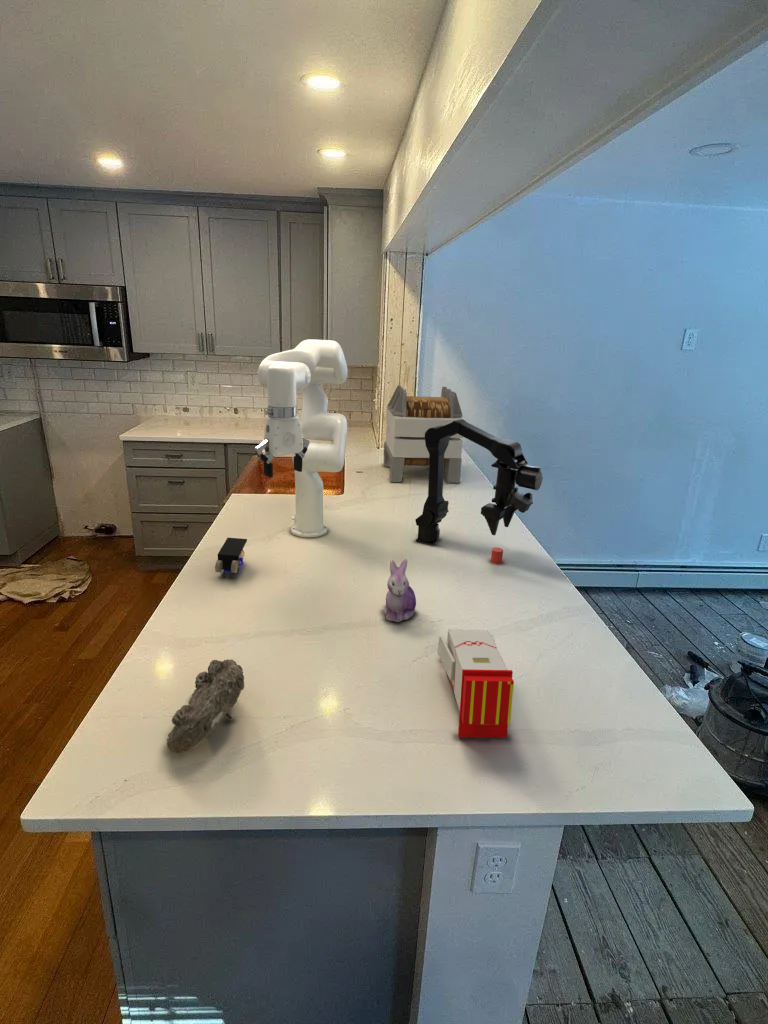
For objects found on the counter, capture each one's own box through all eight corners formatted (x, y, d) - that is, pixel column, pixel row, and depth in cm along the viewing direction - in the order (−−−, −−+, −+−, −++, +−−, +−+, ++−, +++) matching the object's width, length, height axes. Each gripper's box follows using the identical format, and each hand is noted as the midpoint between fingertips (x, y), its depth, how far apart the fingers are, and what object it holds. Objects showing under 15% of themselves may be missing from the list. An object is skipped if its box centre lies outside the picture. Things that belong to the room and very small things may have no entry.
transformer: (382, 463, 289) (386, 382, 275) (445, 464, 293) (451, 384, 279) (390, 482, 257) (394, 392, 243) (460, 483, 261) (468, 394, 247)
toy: (488, 613, 130) (523, 677, 101) (484, 667, 133) (517, 744, 104) (435, 612, 130) (455, 676, 101) (432, 666, 133) (451, 743, 103)
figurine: (392, 627, 141) (395, 572, 136) (374, 608, 149) (376, 556, 144) (425, 619, 145) (429, 566, 140) (405, 601, 154) (408, 550, 149)
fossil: (192, 660, 117) (244, 628, 112) (224, 691, 120) (276, 661, 115) (142, 746, 98) (202, 712, 93) (182, 779, 101) (242, 748, 96)
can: (498, 559, 183) (499, 546, 182) (503, 563, 180) (505, 551, 179) (488, 560, 182) (490, 547, 181) (494, 564, 179) (496, 552, 177)
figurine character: (238, 584, 162) (249, 557, 175) (236, 562, 158) (247, 536, 172) (215, 584, 161) (227, 556, 175) (212, 561, 158) (225, 535, 171)
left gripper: (262, 417, 144) (264, 482, 150) (316, 411, 155) (316, 471, 161) (246, 413, 149) (249, 475, 155) (300, 407, 161) (301, 466, 166)
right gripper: (517, 495, 161) (511, 546, 166) (542, 482, 175) (536, 529, 180) (482, 487, 167) (477, 536, 172) (509, 475, 181) (503, 520, 186)
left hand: (283, 473), depth 158 cm, fingers open, 9 cm apart
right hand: (500, 530), depth 177 cm, fingers open, 9 cm apart
